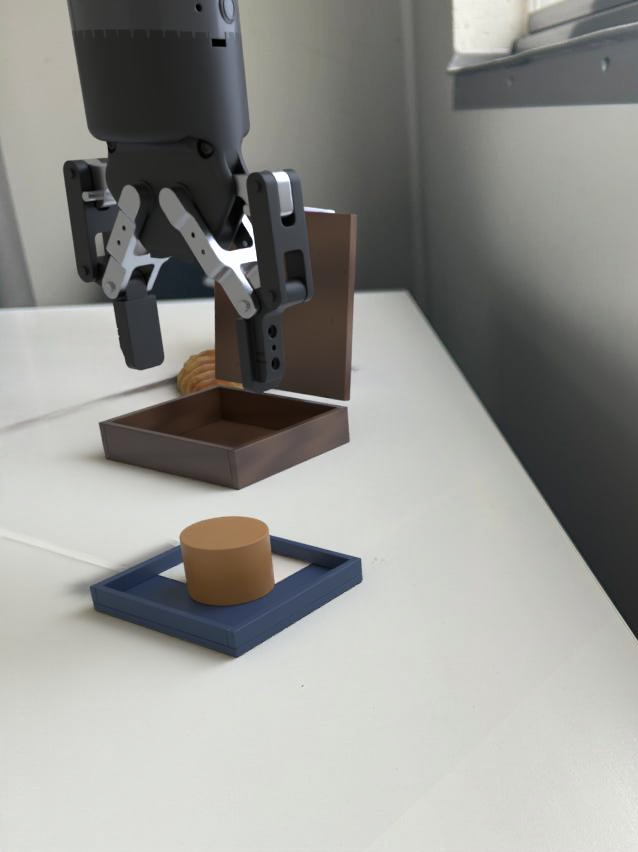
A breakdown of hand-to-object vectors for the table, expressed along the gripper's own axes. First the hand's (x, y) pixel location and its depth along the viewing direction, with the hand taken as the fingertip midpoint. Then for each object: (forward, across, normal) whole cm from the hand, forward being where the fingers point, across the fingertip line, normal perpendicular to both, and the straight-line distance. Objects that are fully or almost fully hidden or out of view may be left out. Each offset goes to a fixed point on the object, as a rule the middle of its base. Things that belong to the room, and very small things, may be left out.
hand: (202, 378), depth 55 cm
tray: (+13, 0, 0) cm, 13 cm away
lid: (+2, -18, +26) cm, 31 cm away
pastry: (+13, -32, +32) cm, 47 cm away
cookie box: (+13, -18, +18) cm, 29 cm away
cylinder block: (+12, +1, 0) cm, 12 cm away
